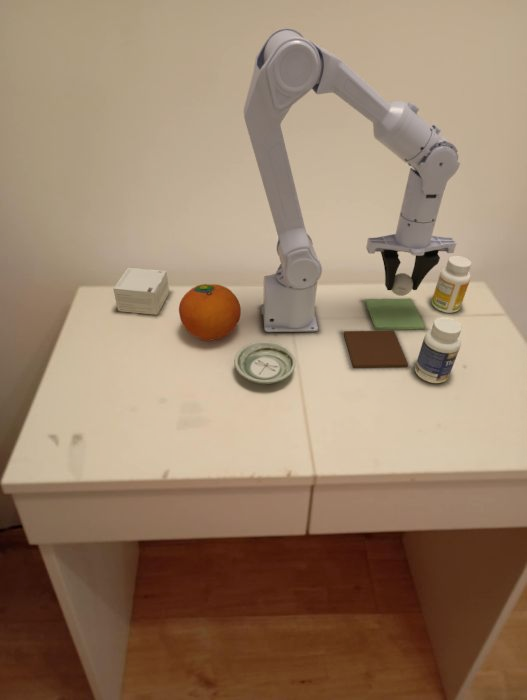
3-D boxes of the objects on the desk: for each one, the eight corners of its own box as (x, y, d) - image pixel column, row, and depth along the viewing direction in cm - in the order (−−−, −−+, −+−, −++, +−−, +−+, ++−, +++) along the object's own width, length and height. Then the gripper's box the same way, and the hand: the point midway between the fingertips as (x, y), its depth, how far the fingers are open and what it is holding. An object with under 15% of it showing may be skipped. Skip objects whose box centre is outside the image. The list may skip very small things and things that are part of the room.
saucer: (226, 385, 73) (226, 374, 71) (244, 347, 80) (244, 336, 78) (287, 398, 71) (288, 386, 69) (300, 358, 78) (301, 346, 77)
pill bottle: (443, 389, 73) (461, 340, 67) (409, 376, 75) (424, 327, 69) (452, 369, 77) (470, 321, 71) (420, 357, 79) (435, 310, 73)
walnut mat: (353, 367, 77) (353, 365, 76) (343, 333, 84) (343, 331, 83) (407, 367, 77) (408, 364, 77) (393, 333, 84) (394, 330, 84)
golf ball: (403, 286, 87) (408, 267, 84) (414, 298, 84) (419, 279, 82) (384, 289, 86) (388, 270, 84) (394, 301, 83) (399, 282, 81)
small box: (131, 289, 93) (127, 266, 90) (170, 292, 92) (167, 270, 89) (117, 311, 87) (111, 288, 84) (158, 315, 86) (154, 292, 83)
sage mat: (375, 329, 85) (376, 327, 84) (364, 301, 91) (365, 299, 91) (424, 329, 85) (425, 326, 85) (410, 301, 92) (411, 298, 92)
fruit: (249, 341, 81) (249, 302, 76) (190, 355, 78) (186, 316, 73) (229, 308, 89) (227, 271, 84) (175, 319, 86) (170, 281, 80)
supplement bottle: (456, 298, 93) (471, 254, 87) (462, 314, 89) (479, 269, 83) (429, 296, 93) (442, 252, 87) (433, 312, 89) (447, 267, 83)
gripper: (379, 226, 72) (365, 300, 81) (471, 226, 73) (447, 299, 82) (369, 207, 77) (357, 278, 86) (455, 207, 78) (434, 277, 87)
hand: (400, 287), depth 84 cm, fingers closed on golf ball, 4 cm apart
